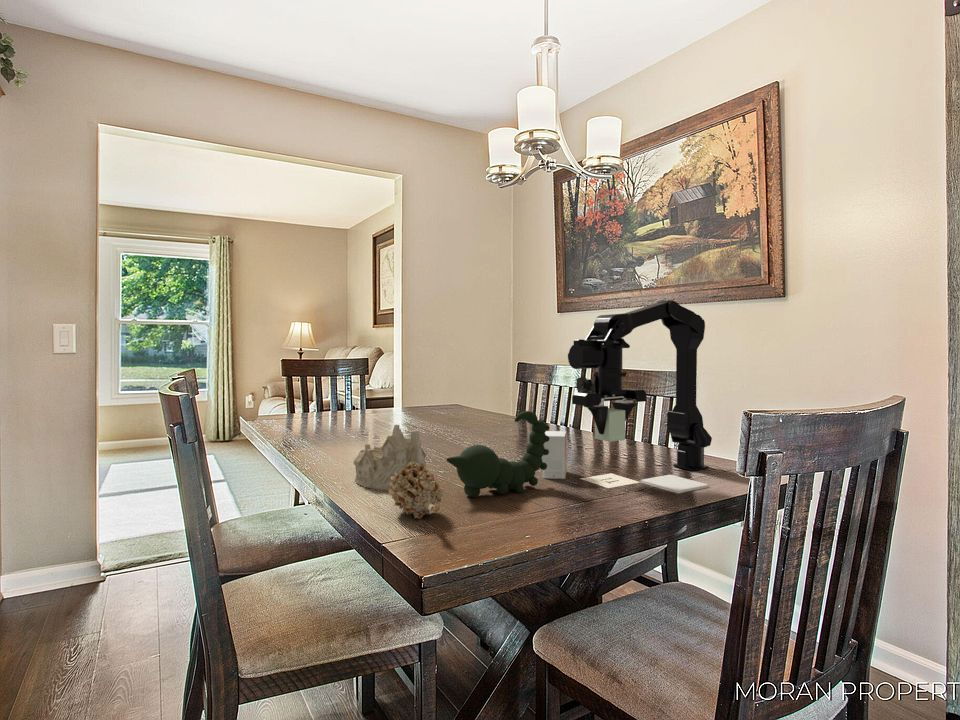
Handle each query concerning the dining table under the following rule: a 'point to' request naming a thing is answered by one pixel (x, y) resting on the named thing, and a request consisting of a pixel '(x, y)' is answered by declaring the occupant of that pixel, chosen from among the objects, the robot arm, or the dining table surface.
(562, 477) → the small box
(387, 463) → the ceramic cottage
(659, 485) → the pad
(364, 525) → the dining table surface
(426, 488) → the pine cone
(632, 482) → the tile
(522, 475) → the toy figurine
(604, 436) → the sage block
